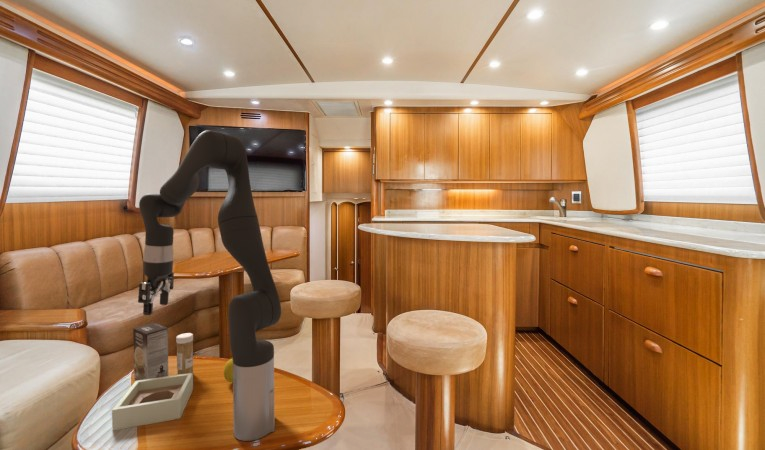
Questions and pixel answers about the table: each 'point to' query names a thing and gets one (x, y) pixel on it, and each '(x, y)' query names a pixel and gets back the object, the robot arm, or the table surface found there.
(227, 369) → the lemon
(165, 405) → the peg box
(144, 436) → the table surface
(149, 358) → the coffee box
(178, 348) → the sprinkles bottle
